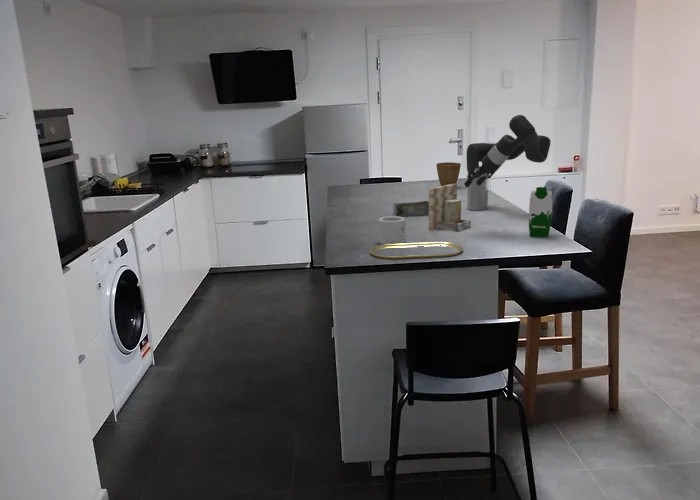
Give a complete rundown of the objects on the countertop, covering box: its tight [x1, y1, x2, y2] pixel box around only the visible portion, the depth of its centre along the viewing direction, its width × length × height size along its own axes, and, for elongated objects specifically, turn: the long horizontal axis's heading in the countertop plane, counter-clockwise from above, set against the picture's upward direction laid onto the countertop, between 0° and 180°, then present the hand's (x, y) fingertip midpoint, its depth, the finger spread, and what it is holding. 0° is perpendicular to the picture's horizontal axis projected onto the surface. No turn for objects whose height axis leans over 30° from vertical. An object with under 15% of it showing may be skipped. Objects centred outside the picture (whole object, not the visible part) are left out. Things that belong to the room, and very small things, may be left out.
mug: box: [377, 215, 406, 245], centre depth 236 cm, size 14×11×10 cm
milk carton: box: [528, 186, 553, 238], centre depth 238 cm, size 9×9×20 cm
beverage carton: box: [392, 200, 429, 218], centre depth 289 cm, size 8×19×7 cm, turn 97°
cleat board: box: [428, 183, 472, 232], centre depth 257 cm, size 18×12×18 cm
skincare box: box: [444, 199, 462, 224], centre depth 258 cm, size 6×4×12 cm
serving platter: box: [369, 241, 464, 260], centre depth 221 cm, size 19×35×2 cm, turn 93°
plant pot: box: [435, 161, 462, 186], centre depth 363 cm, size 15×15×16 cm
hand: (471, 184), depth 248 cm, fingers open, 8 cm apart
